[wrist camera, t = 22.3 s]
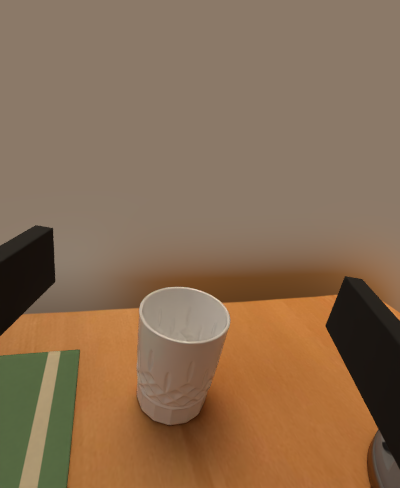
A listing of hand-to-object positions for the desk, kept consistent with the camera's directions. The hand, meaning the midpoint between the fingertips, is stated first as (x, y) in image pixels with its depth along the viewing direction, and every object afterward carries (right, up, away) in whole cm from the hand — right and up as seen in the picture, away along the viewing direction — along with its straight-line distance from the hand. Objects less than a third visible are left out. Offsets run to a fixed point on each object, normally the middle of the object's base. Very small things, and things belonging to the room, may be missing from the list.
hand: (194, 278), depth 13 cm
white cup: (-3, -13, +16) cm, 21 cm away
